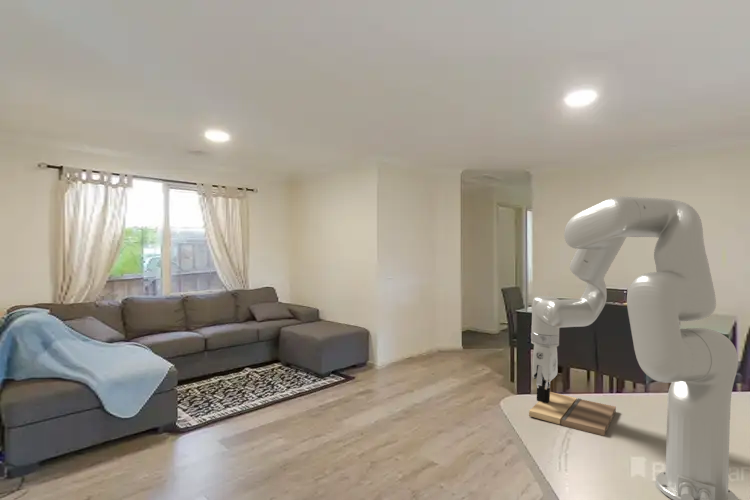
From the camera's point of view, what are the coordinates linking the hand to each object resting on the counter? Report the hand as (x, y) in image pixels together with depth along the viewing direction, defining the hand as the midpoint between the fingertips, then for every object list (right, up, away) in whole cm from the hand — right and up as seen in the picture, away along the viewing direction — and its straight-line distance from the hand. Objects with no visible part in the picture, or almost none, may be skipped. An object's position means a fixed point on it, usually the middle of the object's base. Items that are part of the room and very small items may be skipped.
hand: (543, 401), depth 124 cm
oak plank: (+2, -2, -2) cm, 3 cm away
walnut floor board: (+10, -2, -8) cm, 13 cm away
